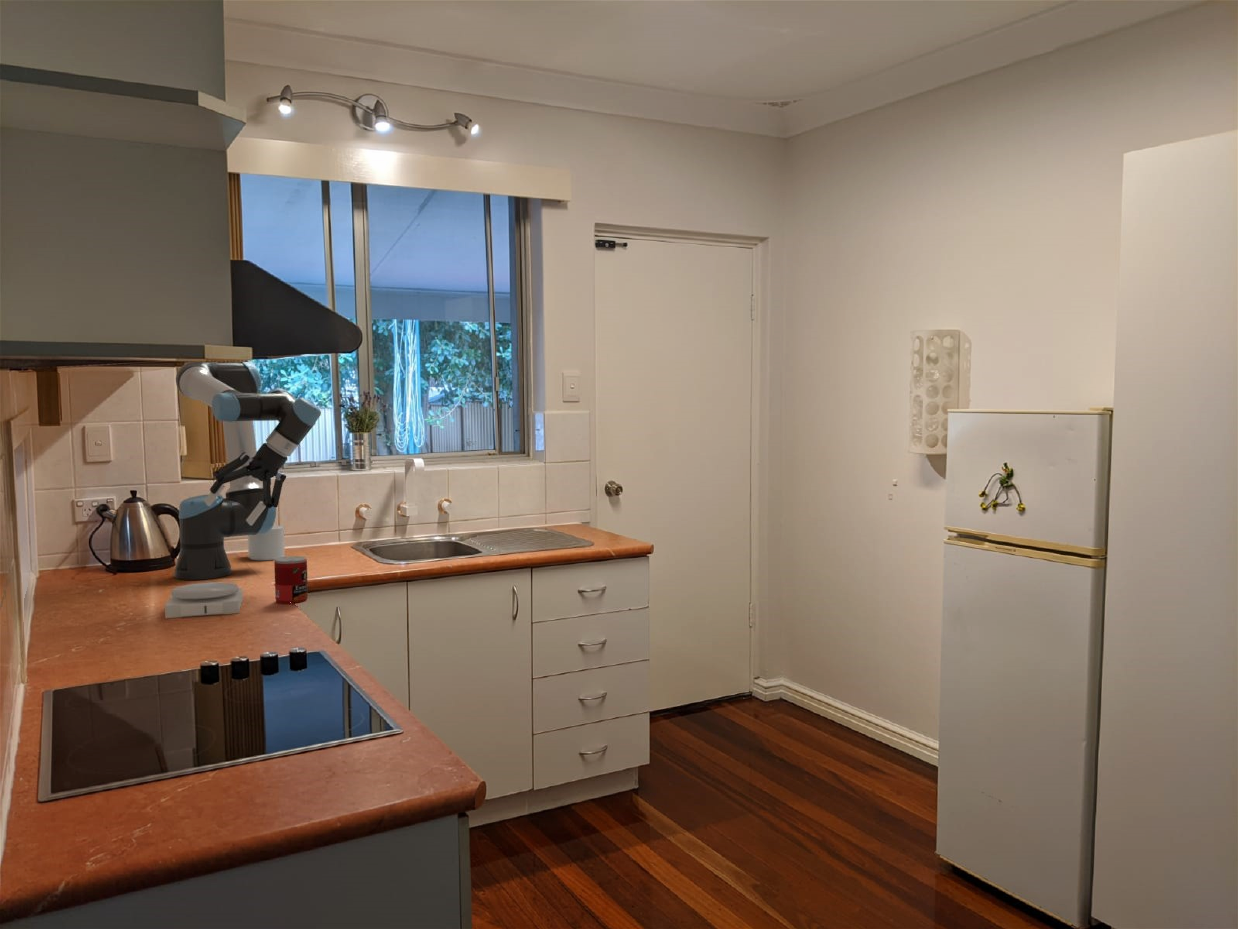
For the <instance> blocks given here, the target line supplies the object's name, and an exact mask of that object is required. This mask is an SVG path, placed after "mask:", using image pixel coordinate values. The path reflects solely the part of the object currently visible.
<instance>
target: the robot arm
mask: <svg viewBox="0 0 1238 929" xmlns="http://www.w3.org/2000/svg"><path fill="white" fill-rule="evenodd" d="M248 361H249V362H228V363H218V362H190V361H188V362H186V363H184V364H183V365H182V366H180V368H179V369H178V371H177V372H176V376H175V384H176V387H177V389H178V391H179V392H180V393H181V394H183V395H184V396H185V397H187V398H189V399H191V400H199V401H200V402H201V403H204V405H207V406H208V407H210V408H211V411H212V415H213V416H214V418H215V420H216V421H219V422H222V426H223V428H222V429H223V435H224V436H223V437H224V444H225V445H224V446H225V453H226V462H227V464H225V465H223V466H222V467H220V468H218V469H216V470H215V471H213V472H212V476H214V478H215V481H214V483H213V484H212V486H210V488H209V491H210V492H209V494H201V495H197V496H192V497H188V498H185V499H183V500H182V501H180V503H179V510H178V520H179V544H180V545H179V546H180V548H179V549H180V550H179V555H178V556H177V561H176V564H175V566H174V578H175V579H179V580H186V581H189V580H190V581H194V580H198V581H199V580H210V579H218V578H222V577H227V576H229V575H231V574H232V565H231V563H230V560H229V558H228V555H227V552H226V549H225V540H224V539H225V538H233V537H240V536H241V537H242V536H243V537H245V536H248V535H257V534H262V533H266V532H268V531H270V530H271V528H272V527H273V525H274V524H275V522H276V516H277V508H278V506H279V503H280V498H281V494H282V489H283V488H282V487H283V484H284V482H285V481H286V478H287V475H285V473H284V472H283V471H279V470H280V469H282V468H283V467H284V464H285V463H286V462H288V459H289V458H288V457H290V456H292V454H293V453H294V451H295V450H296V449H297V448H298V446H299V445H300V444H301V442H302V441H303V440H304V439H305V437H306V436H307V435H308V434H309V432H310V431H311V429H312V428H313V427H314V426H315V425H316V422H317V421H318V420H319V418H320V417H321V416H322V410H321V409H320V408H318V406H316V405H315V404H314V403H313V402H311V401H310V400H308V399H306V398H305V397H302V396H299V397H298V398H296V397H295V396H294V395H293V394H292V393H291V392H289V391H287V390H286V389H284V388H281V387H278V388H277V387H276V388H273V389H271V390H269V391H267V392H262V388H261V387H262V385H263V384H262V379H261V378H262V377H261V373H260V371H259V370H258V367H257V366H256V365H255V363H254V362H252V361H251V360H248ZM257 421H258V422H260V421H261V422H264V421H265V422H266V421H267V422H269V421H270V422H271V421H277V422H278V424H277V425H276V426H275V428H273V430H272V431H271V433H270V434H269V435H268V436H267V438H266V439H265V442H263V443H262V444H261V446H260V447H259V448H258V450H257V445H256V444H257V443H256V442H257V441H256V436H255V435H256V434H255V426H254V422H257ZM274 477H275V479H274V484H273V487H272V491H271V485H272V478H274ZM261 482H262V483H261ZM228 483H229V488H228V489H227V490H226V491H225V493H224V494H225V497H224V496H223V495H222V494H221V493H222V492H223V491H224V489H225V488H226V486H225V484H228Z"/></svg>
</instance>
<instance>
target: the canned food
mask: <svg viewBox="0 0 1238 929" xmlns="http://www.w3.org/2000/svg"><path fill="white" fill-rule="evenodd" d="M273 564H274V591H275V593H274V594H275V601H276V603H277V602H278V603H277V604H279V603H281V604H280V605H295V604H296V605H298V604H302V603H305V602H307V600H308V598H309V597H308V595H309V594H308V593H309V591H308V587H309V586H308V559H307V557H306V556H300V555H298V556H297V555H296V556H295V555H292V556H291V555H290V556H289V555H288V556H285V557H280V558H276V559H274V562H273ZM290 602H291V603H292V604H291V603H290Z"/></svg>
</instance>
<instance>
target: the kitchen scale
mask: <svg viewBox="0 0 1238 929" xmlns="http://www.w3.org/2000/svg"><path fill="white" fill-rule="evenodd" d="M170 594H171V596H170V597H169V598H168V600H167V601H166V603H165V605H164V615H165V619H171V618H172V619H173V618H185V617H186V618H187V617H189V618H190V617H202V616H215V615H229V614H239V613H240V610H241V606H242V603H243V599H244V597H243V596H244V595H243V587H239V585H238V584H237V583H233V582H222V581H221V582H218V581H217V582H216V581H215V582H202V583H201V582H200V583H199V582H198V583H192V584H186V585H182V586H177V587H175V588H172V589H171V592H170Z"/></svg>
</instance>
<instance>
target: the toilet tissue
mask: <svg viewBox="0 0 1238 929" xmlns="http://www.w3.org/2000/svg"><path fill="white" fill-rule="evenodd" d="M247 548H248V555H247V556H248V558H249V559H250V561H251V560H252V561H271V560H272V561H273V560H274V561H275V559H276V558H280V557H286V555H285V548H286V547H285V528H284V526H283V525H274V524H273V527H272V528H271V530H270V531H268V532H266V533H262V534H257V535H247Z"/></svg>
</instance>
